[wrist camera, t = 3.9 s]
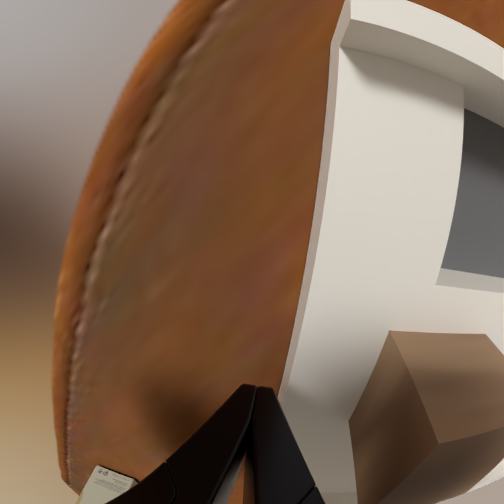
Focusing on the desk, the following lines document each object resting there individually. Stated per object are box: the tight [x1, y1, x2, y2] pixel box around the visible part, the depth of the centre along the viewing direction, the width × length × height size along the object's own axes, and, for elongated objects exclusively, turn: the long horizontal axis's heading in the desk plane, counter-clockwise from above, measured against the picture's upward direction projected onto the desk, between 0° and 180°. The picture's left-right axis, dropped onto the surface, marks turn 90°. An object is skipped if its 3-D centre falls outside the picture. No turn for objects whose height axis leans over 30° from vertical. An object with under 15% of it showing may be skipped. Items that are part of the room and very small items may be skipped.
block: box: [348, 330, 504, 504], centre depth 6 cm, size 4×4×4 cm
